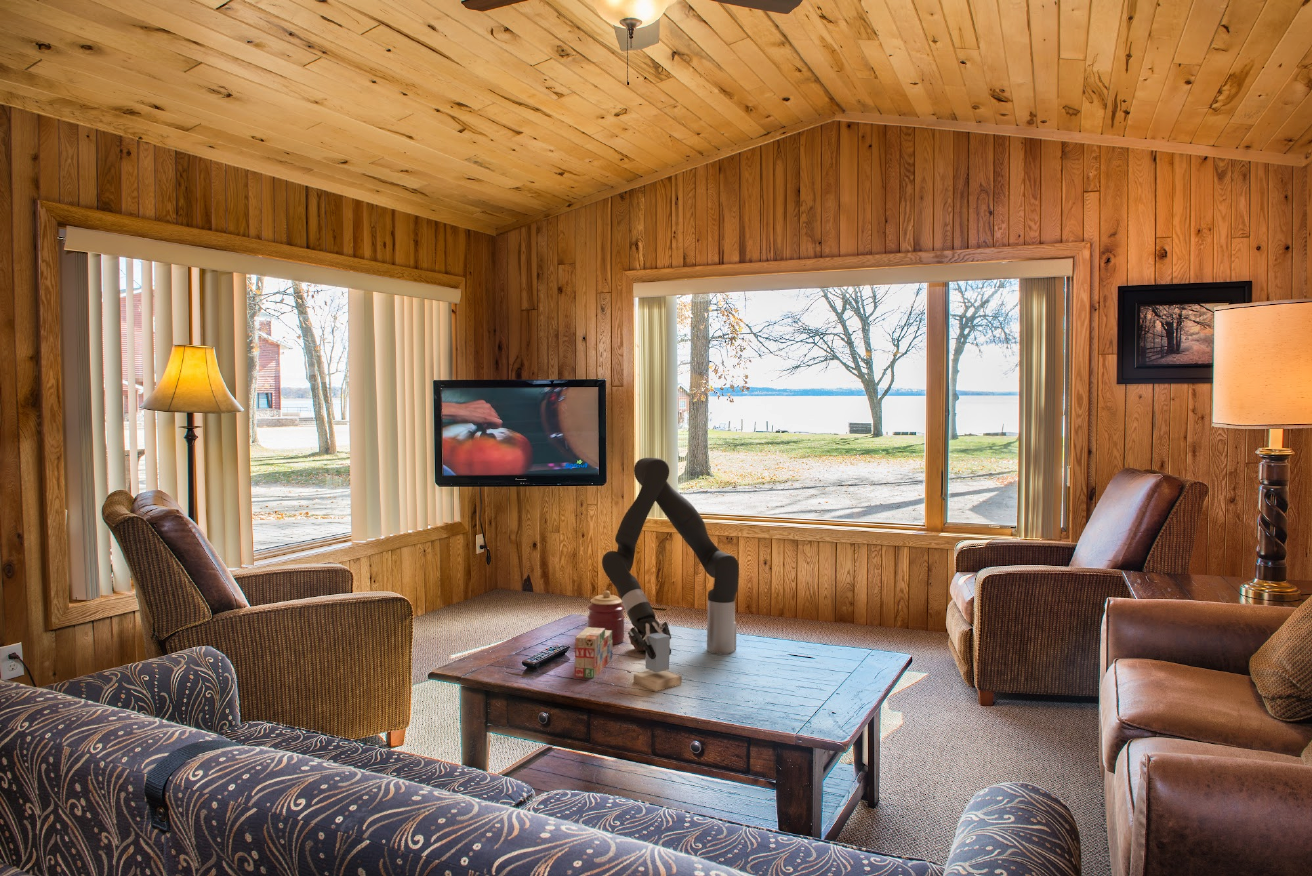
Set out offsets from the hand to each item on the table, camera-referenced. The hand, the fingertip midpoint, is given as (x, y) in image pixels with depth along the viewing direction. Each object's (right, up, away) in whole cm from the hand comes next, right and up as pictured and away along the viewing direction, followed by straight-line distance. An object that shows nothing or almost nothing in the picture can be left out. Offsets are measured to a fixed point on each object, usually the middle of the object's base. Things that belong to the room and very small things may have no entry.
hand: (661, 656), depth 245 cm
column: (-1, -4, +2) cm, 5 cm away
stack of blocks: (-21, -8, +16) cm, 28 cm away
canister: (-19, -7, +47) cm, 51 cm away
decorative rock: (-5, -8, +36) cm, 37 cm away
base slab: (-1, -9, +2) cm, 9 cm away
